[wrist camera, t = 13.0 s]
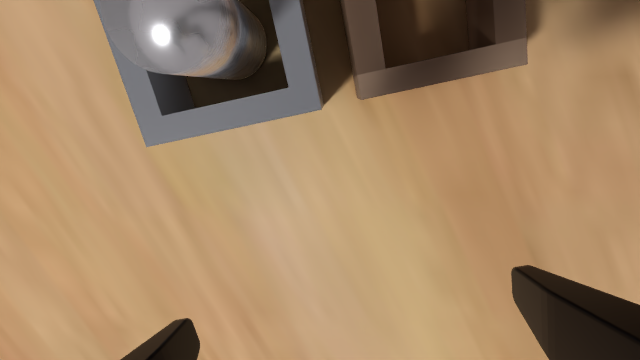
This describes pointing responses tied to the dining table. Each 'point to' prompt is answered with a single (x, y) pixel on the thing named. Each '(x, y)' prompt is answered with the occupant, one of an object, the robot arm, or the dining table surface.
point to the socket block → (483, 57)
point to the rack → (187, 121)
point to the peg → (187, 36)
